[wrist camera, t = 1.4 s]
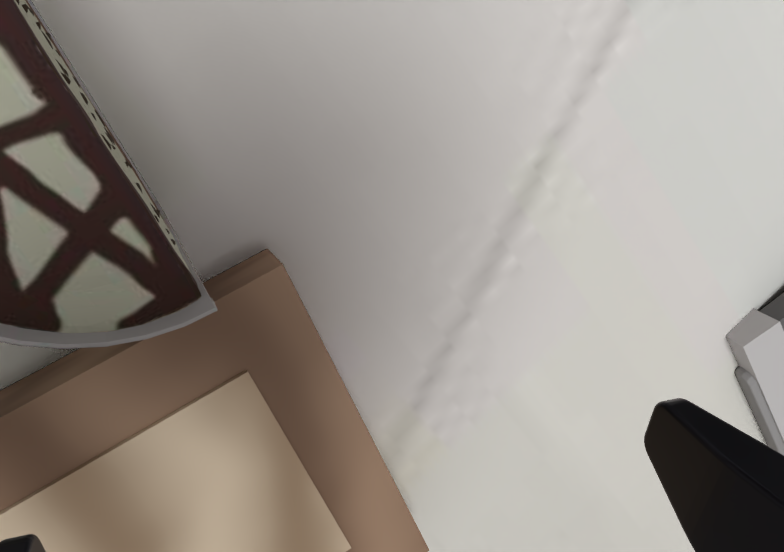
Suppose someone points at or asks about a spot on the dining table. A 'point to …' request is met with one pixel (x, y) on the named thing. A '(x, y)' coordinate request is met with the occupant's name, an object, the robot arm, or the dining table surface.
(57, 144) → the food container
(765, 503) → the robot arm
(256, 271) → the walnut stand
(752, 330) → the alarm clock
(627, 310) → the dining table surface
